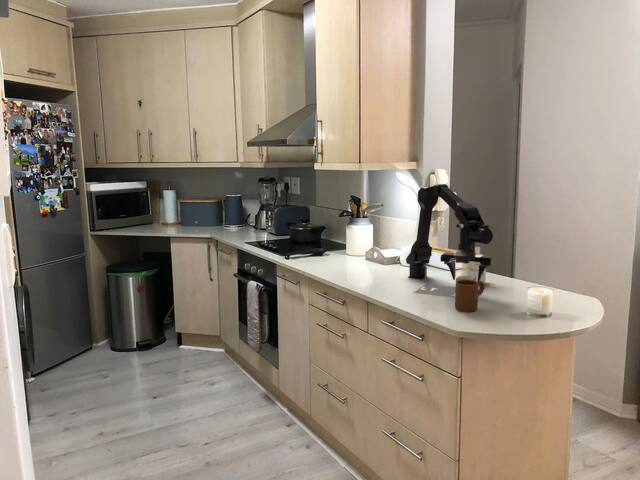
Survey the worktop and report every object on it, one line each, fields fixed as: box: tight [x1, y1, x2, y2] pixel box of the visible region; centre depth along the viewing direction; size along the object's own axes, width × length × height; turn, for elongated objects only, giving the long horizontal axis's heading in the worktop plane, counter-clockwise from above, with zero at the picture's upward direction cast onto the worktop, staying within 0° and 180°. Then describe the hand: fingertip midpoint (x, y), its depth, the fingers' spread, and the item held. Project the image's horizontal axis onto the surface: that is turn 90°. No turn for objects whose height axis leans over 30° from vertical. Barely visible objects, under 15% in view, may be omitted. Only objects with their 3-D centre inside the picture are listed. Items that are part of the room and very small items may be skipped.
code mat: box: [412, 283, 479, 299], centre depth 203 cm, size 22×16×1 cm
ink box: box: [461, 246, 487, 284], centre depth 215 cm, size 9×5×15 cm, turn 105°
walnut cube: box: [455, 274, 476, 283], centre depth 199 cm, size 6×6×6 cm
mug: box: [454, 280, 486, 313], centre depth 180 cm, size 12×8×9 cm, turn 120°
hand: (466, 281), depth 199 cm, fingers open, 9 cm apart
